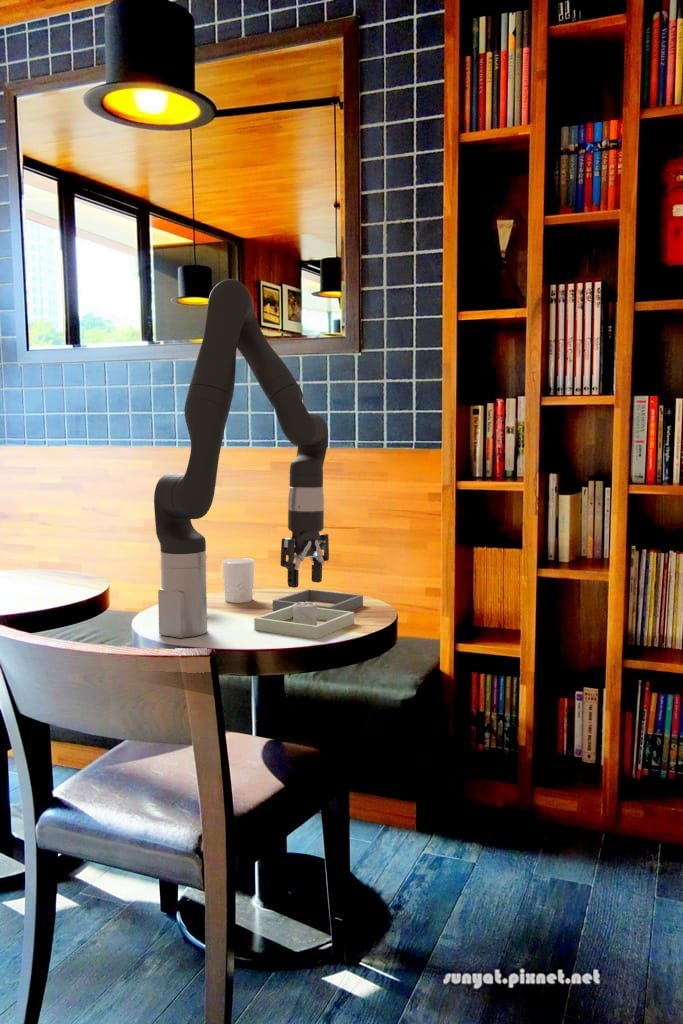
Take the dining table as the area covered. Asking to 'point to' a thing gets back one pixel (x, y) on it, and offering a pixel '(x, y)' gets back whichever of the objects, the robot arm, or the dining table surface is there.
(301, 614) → the die
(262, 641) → the dining table surface
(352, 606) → the gray frame
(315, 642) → the dining table surface
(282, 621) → the sage frame
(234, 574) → the white cup
